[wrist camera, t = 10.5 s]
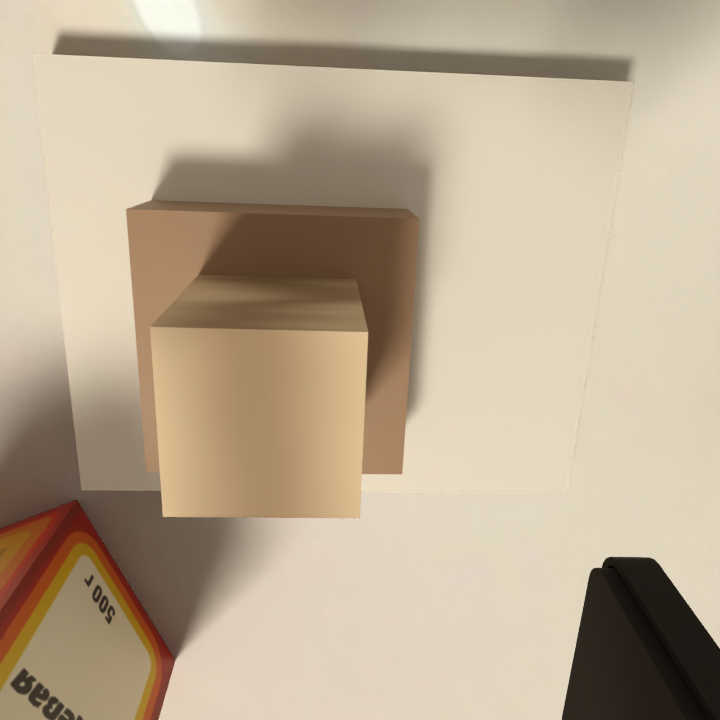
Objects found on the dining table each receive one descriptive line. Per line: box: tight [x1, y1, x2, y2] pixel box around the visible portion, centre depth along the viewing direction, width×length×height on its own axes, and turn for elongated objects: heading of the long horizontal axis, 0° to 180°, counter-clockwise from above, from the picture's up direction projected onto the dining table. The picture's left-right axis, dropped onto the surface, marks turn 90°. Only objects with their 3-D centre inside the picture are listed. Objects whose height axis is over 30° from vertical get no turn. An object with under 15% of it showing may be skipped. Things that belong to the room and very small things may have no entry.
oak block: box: [150, 275, 368, 518], centre depth 19 cm, size 5×5×6 cm
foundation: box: [31, 53, 634, 494], centre depth 23 cm, size 20×16×4 cm
